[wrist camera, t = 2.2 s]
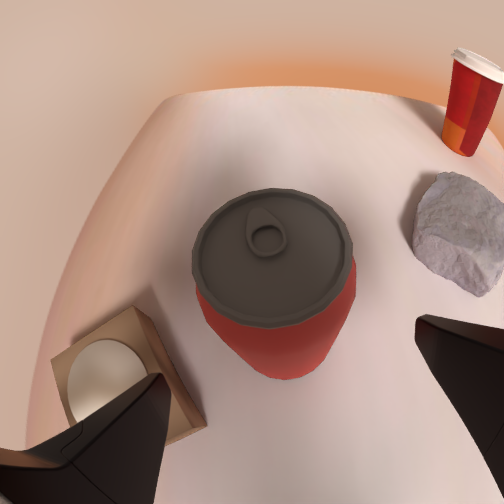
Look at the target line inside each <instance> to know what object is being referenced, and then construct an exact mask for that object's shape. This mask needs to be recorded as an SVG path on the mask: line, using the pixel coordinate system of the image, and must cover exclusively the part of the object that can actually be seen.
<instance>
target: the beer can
mask: <svg viewBox="0 0 504 504" xmlns="http://www.w3.org/2000/svg"><path fill="white" fill-rule="evenodd" d="M352 251H353V244H352V241H351V238H350V235H349V233H348V230H347V227H346V225H345V223H344V222H343V220H342V219H341V218H340V217H339V216H338V214H337V213H336V212H335V211H334V210H333V208H332V207H330V206H329V205H327V204H326V203H324V202H323V201H321V200H319V199H318V198H316V197H315V196H313V195H310V194H306V193H303V192H300V191H297V190H293V189H278V188H269V189H263V190H258V191H252V192H248V193H246V194H244V195H241V196H239V197H237V198H235V199H232V200H230V201H228V202H227V203H226V204H224V205H223V206H222V207H221V208H219V209H218V210H217V211H215V212H214V213H213V214H212V215H211V216H210V217H209V219H208V220H207V221H206V223H205V224H204V225H203V227H202V228H201V229H200V231H199V233H198V236H197V239H196V241H195V244H194V247H193V250H192V274H193V277H194V279H195V282H196V294H197V297H198V301H199V303H200V306H201V309H202V311H203V314H204V316H205V319H206V321H207V323H208V324H209V325H210V326H211V328H212V329H213V330H214V331H215V332H216V333H217V334H218V335H219V337H220V338H221V339H222V340H223V341H224V342H225V343H226V344H227V345H228V346H229V347H231V348H232V349H233V350H234V351H235V352H236V353H237V354H238V355H239V356H240V357H242V358H243V359H244V360H245V361H246V362H247V363H248V364H249V365H250V366H252V367H253V368H254V369H255V370H256V371H258V372H260V373H262V374H264V375H266V376H268V377H270V378H275V379H282V380H287V379H293V378H299V377H302V376H304V375H306V374H308V373H309V372H311V371H313V370H314V369H315V368H316V367H317V366H318V365H319V364H320V363H321V362H322V361H323V360H324V359H325V357H326V355H327V354H328V352H329V350H330V348H331V346H332V345H333V343H334V341H335V339H336V337H337V335H338V334H339V332H340V330H341V328H342V326H343V324H344V322H345V320H346V318H347V316H348V313H349V311H350V308H351V306H352V304H353V301H354V299H355V295H356V264H355V261H354V258H353V255H352Z"/></svg>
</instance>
